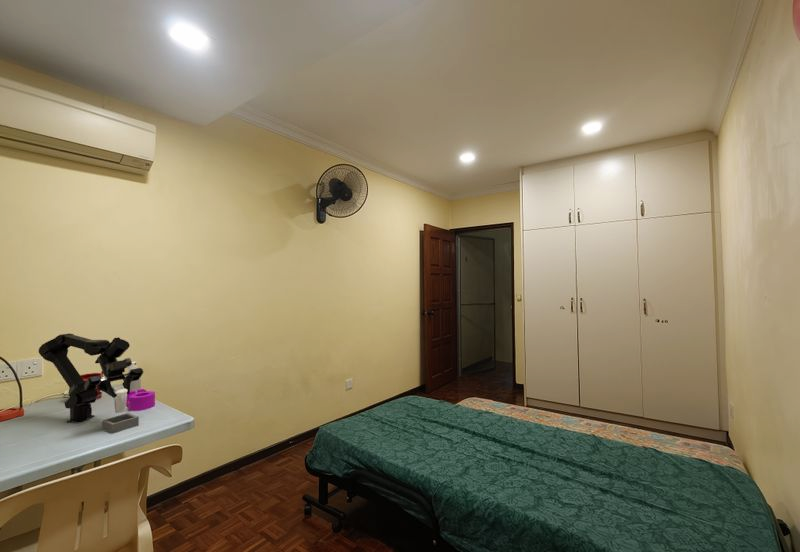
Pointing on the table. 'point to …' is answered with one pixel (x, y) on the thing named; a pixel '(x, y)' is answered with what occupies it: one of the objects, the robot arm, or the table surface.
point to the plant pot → (85, 376)
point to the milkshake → (120, 400)
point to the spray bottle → (136, 384)
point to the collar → (120, 423)
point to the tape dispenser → (140, 400)
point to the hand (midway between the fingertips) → (121, 395)
